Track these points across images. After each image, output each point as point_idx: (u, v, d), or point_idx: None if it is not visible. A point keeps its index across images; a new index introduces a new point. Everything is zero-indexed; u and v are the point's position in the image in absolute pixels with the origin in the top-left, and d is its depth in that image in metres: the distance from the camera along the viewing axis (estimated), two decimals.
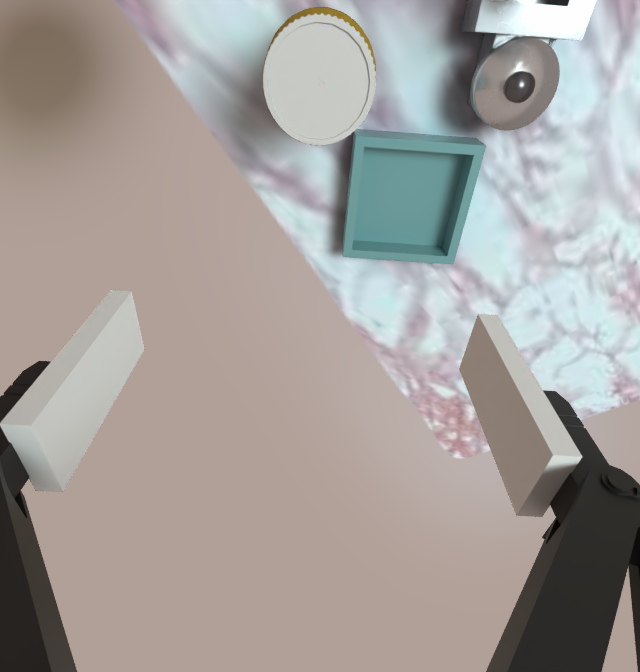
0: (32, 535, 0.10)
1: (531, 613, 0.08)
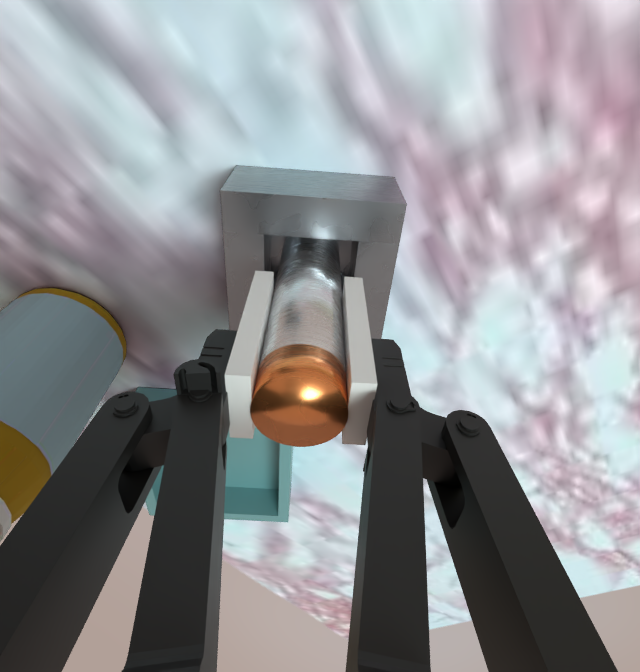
0: (223, 487, 0.11)
1: (366, 551, 0.08)
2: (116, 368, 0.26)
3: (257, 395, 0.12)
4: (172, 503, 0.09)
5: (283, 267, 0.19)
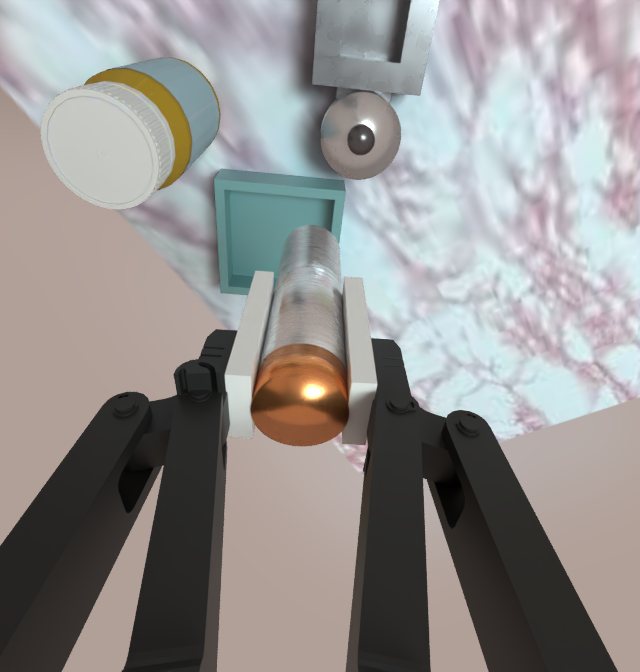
0: (223, 487, 0.11)
1: (365, 551, 0.08)
2: (215, 129, 0.33)
3: (258, 395, 0.12)
4: (172, 503, 0.09)
5: (283, 267, 0.19)
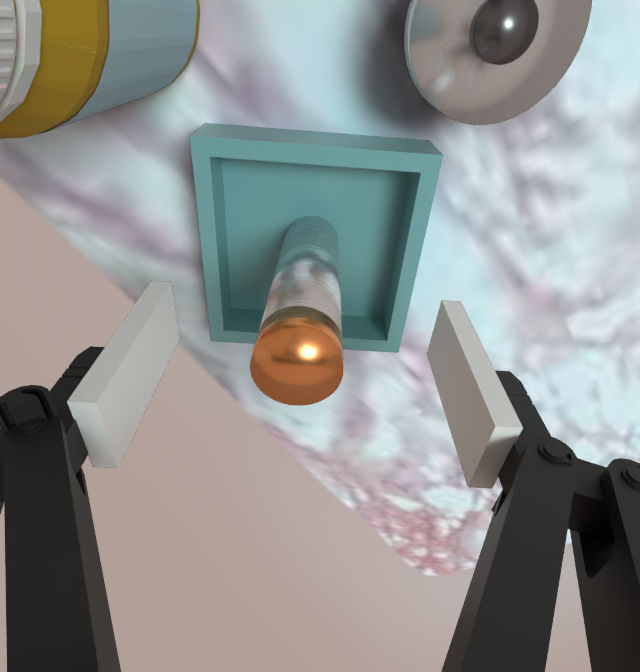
0: (88, 512, 0.11)
1: (485, 587, 0.08)
2: (188, 31, 0.17)
3: (257, 350, 0.13)
4: (25, 545, 0.08)
5: (284, 250, 0.20)
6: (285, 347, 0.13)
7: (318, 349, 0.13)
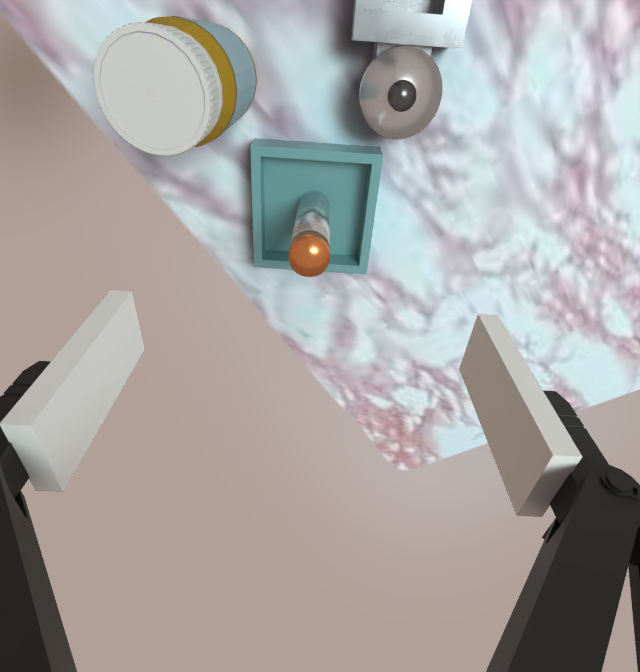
0: (32, 535, 0.10)
1: (531, 613, 0.08)
2: (252, 93, 0.33)
3: (291, 248, 0.30)
4: None
5: (299, 208, 0.36)
6: (304, 246, 0.30)
7: (318, 247, 0.30)
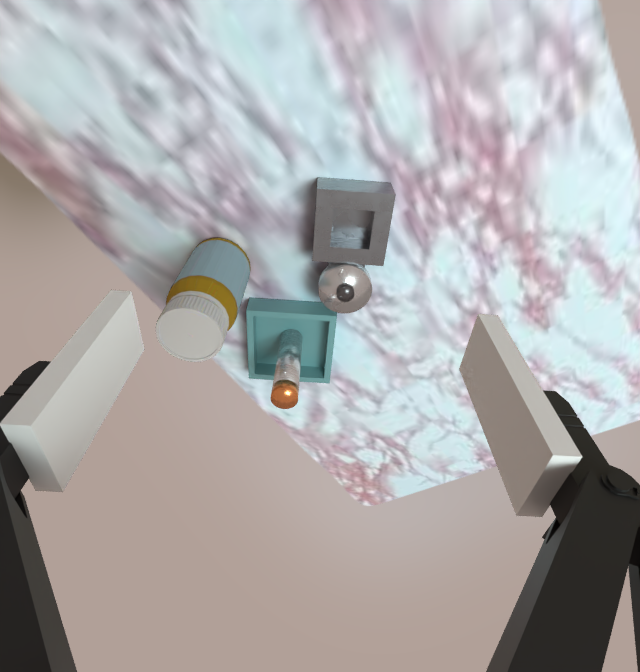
0: (32, 535, 0.10)
1: (531, 613, 0.08)
2: (247, 280, 0.50)
3: (272, 393, 0.47)
4: None
5: (280, 349, 0.53)
6: (281, 393, 0.47)
7: (290, 393, 0.47)
